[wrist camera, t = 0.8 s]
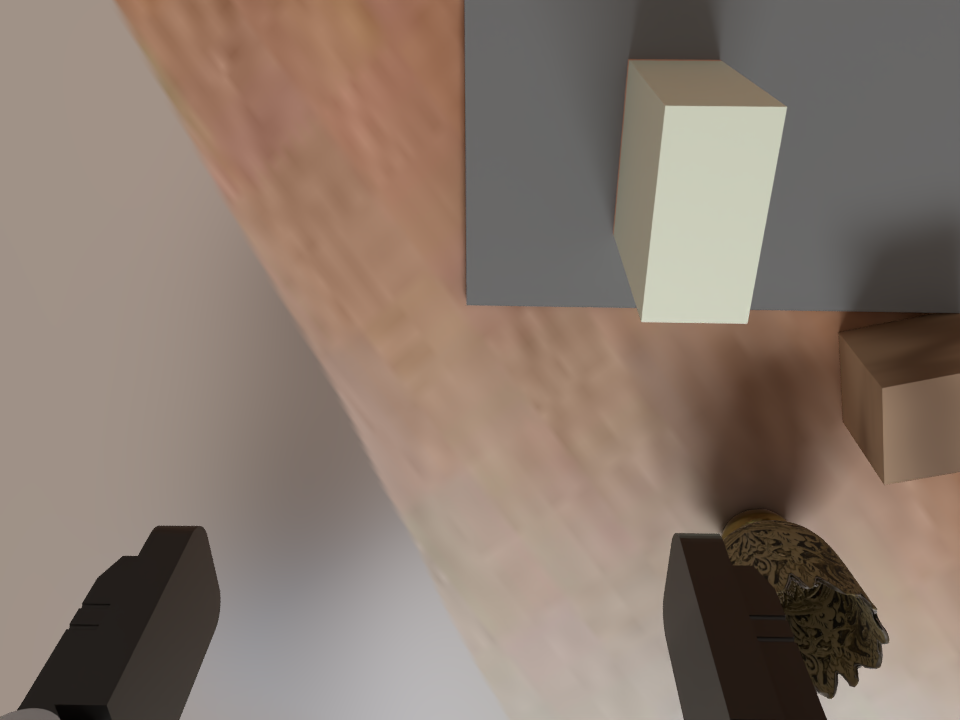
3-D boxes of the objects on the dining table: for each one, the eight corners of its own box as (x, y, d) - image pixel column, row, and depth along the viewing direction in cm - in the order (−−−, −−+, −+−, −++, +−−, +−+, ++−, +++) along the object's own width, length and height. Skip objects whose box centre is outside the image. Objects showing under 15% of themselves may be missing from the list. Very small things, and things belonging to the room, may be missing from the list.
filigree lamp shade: (660, 504, 42) (690, 623, 35) (800, 452, 40) (862, 567, 33) (710, 598, 45) (747, 725, 38) (842, 555, 43) (906, 679, 36)
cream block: (720, 59, 31) (787, 106, 23) (695, 234, 34) (747, 323, 27) (628, 59, 31) (665, 105, 23) (613, 233, 34) (641, 321, 27)
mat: (1065, -12, 29) (1071, -11, 29) (960, 309, 36) (965, 313, 35) (465, -15, 30) (464, -14, 30) (466, 301, 36) (466, 305, 36)
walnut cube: (953, 308, 36) (1014, 363, 31) (951, 400, 38) (1007, 463, 34) (837, 331, 37) (882, 388, 32) (842, 420, 39) (884, 485, 35)
